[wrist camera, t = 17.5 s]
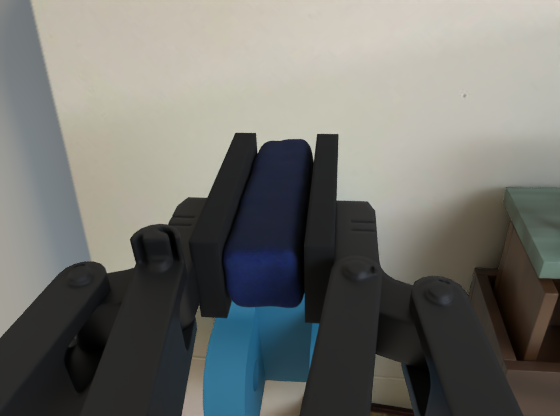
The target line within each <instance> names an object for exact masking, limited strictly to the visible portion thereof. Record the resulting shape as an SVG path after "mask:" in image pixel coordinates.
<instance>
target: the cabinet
mask: <svg viewBox="0 0 560 416" xmlns="http://www.w3.org/2000/svg"><path fill="white" fill-rule="evenodd" d="M497 273H498V269H479V268H475V269H474V273H473V278H472V283H471V287H470V292H469V300H470V302H471V304H472V306H473V308H474V310H475V312H476V315H477V317H478V319H479V321H480V323H481V325H482V327H483V330H484V332H485V334H486V336H487V338H488V340H489V342H490V345H491V347H492V349H493V351H494V353H495V355H496V357H497V360H498V362H499V364H500V366H501V368H502V370H503V372H504V375H505V377H506V379H507V381H508V383H509V385H510V387H511V390H512V392H513V394H514V396H515V398H516V400H517V402H518V404H519V407H520V409H521V411H522V413H523V415H524V416H560V363H552V362H533V361H516V357H515V354H514V351H513V348H512V345H511V343H510V340H509V337H508V334H507V331H506V328H505V325H504V322H503V319H502V317H501V314H500V311H499V308H498V305H497V302H496V299H495V296H494V293H493V289H494V285H495V281H496V277H497Z"/></svg>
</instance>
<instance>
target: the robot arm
mask: <svg viewBox="0 0 560 416" xmlns="http://www.w3.org/2000/svg"><path fill="white" fill-rule="evenodd" d="M256 155H257V142H256V133H235V135H234V138H233V140H232V142H231V145H230V147H229V149H228V152H227V154H226V156H225V158H224V161H223V163H222V165H221V168H220V170H219V172H218V175H217V177H216V179H215V182H214V184H213V186H212V188H211V191H210V193H209V195H208V198H191V197H188V198H187V199H185V200H184V201H183V202H182V203H180V204H179V205H178V206H177V208H176V210H175V212H174V214H173V217H172V218H171V220H170V222H169V225H166V224H156V225H150V226H147V227H144V228H142V229H140V230H139V231H137V232H136V233H134V234H133V236H132V237H131V239H130V242H131V245H132V249H133V253H134V257H135V261H136V265H135V267H134V268H132V269H128V270H124V271H118V272H112V273H106V269H105V268H104V267H103V266H102V265H101V264H100V263H97V262H81V263H77V264H74V265H72V266H69V267H67V268H65V269H64V270H63V271H62V272H61V273H59V274H58V276H56V277H55V279H54V280H53V281H52V282H51V283H50V284H49V285H48V286H47V287H46V288H45V290H44V291H43V292H42V293H41V294H40V295H39V296H38V297H37V298H36V299H35V301H34V302H33V303H32V304H31V305H30V306H29V307H28V308H27V309H26V310H25V312H24V313H23V314H22V315H21V316H20V317H19V318H18V319H17V320H16V321H15V323H14V324H13V325H12V326H11V327H10V328H9V329H8V330H7V331H6V332H5V334H4V335H3V336H2V337H1V338H0V416H181V414H182V409H183V403H184V398H185V392H186V387H187V381H188V376H189V370H190V365H191V359H192V354H193V348H194V343H195V337H196V332H197V324H196V318H195V315H196V312H197V309H198V306H199V305H200V311H201V316H202V317H213V318H227V317H228V314H229V310H230V306H231V303H232V299H231V298H230V296H229V293H228V291H227V288H226V282H225V270H224V265H223V258H222V254H223V250H224V247H225V244H226V242H227V240H228V238H229V237H230V233H231V230H232V227H233V224H234V221H235V219H236V216H237V213H238V211H239V206H240V200H241V198H242V196H243V194H244V192H245V189H246V186H247V183H248V181H249V179H250V177H251V172H252V166H253V162H254V159H255V157H256ZM337 164H338V134H317V141H316V149H315V157H314V166H313V174H312V183H311V191H310V200H309V208H308V216H307V225H306V233H305V242H304V288H305V323H318V324H319V328H318V333H317V337H316V342H315V346H314V351H313V355H312V360H311V365H310V369H309V374H308V378H307V383H306V387H305V392H304V397H303V401H302V406H301V410H300V415H299V416H370V411H371V399H372V388H373V377H374V365H375V354H377V355H380V356H383V357H386V358H389V359H392V360H395V361H398V362H401V366H402V370H403V374H404V377H405V381H406V385H407V389H408V393H409V396H410V400H411V404H412V408H413V411H414V415H415V416H524V415H523V413H522V411H521V409H520V407H519V404H518V402H517V400H516V398H515V396H514V394H513V392H512V390H511V387H510V385H509V383H508V381H507V379H506V377H505V375H504V372H503V370H502V368H501V366H500V364H499V362H498V360H497V357H496V355H495V353H494V351H493V349H492V347H491V345H490V342H489V340H488V338H487V336H486V334H485V332H484V330H483V327H482V325H481V323H480V321H479V319H478V317H477V315H476V312H475V310H474V308H473V306H472V304H471V302H470V300H469V297H468V295H467V293H466V292H465V290H464V289H463V288H462V286H460V285H459V284H457V283H456V282H454V281H453V280H450V279H448V278H445V277H440V276H428V277H423V278H421V279H419V280H417V281H416V282H415V283H414V285H410V284H407V283H403V282H400V281H398V280H395V279H393V278H392V277H390V276H388V275H387V274H386V273H385V272H384V271H383V269H382V268H381V266H380V263H379V253H378V241H377V228H376V216H375V210H374V209H373V208H372V206H371V205H370V204H369V203H368V202H364V201H336V197H337Z"/></svg>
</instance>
